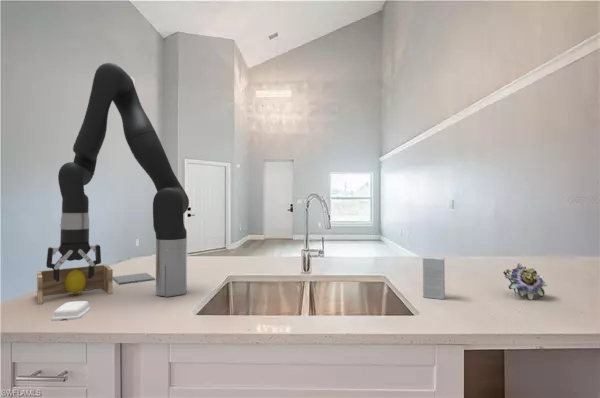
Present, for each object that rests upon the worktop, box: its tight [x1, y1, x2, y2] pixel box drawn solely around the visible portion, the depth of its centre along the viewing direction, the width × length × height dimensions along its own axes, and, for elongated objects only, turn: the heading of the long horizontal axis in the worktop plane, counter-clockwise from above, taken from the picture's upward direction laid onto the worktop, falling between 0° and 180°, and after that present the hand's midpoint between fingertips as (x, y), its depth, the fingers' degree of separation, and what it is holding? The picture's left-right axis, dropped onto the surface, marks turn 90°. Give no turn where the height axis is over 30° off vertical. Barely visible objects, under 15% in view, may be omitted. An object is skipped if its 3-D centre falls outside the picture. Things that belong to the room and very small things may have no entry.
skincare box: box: [422, 255, 446, 300], centre depth 110 cm, size 6×4×12 cm
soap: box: [51, 300, 91, 322], centre depth 93 cm, size 9×7×3 cm
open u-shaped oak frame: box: [36, 264, 114, 305], centre depth 112 cm, size 11×19×8 cm, turn 127°
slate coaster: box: [113, 272, 156, 285], centre depth 134 cm, size 12×12×1 cm
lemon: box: [65, 269, 86, 296], centre depth 112 cm, size 6×6×8 cm
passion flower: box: [502, 262, 549, 301], centre depth 111 cm, size 11×11×12 cm
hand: (74, 279), depth 112 cm, fingers open, 8 cm apart
